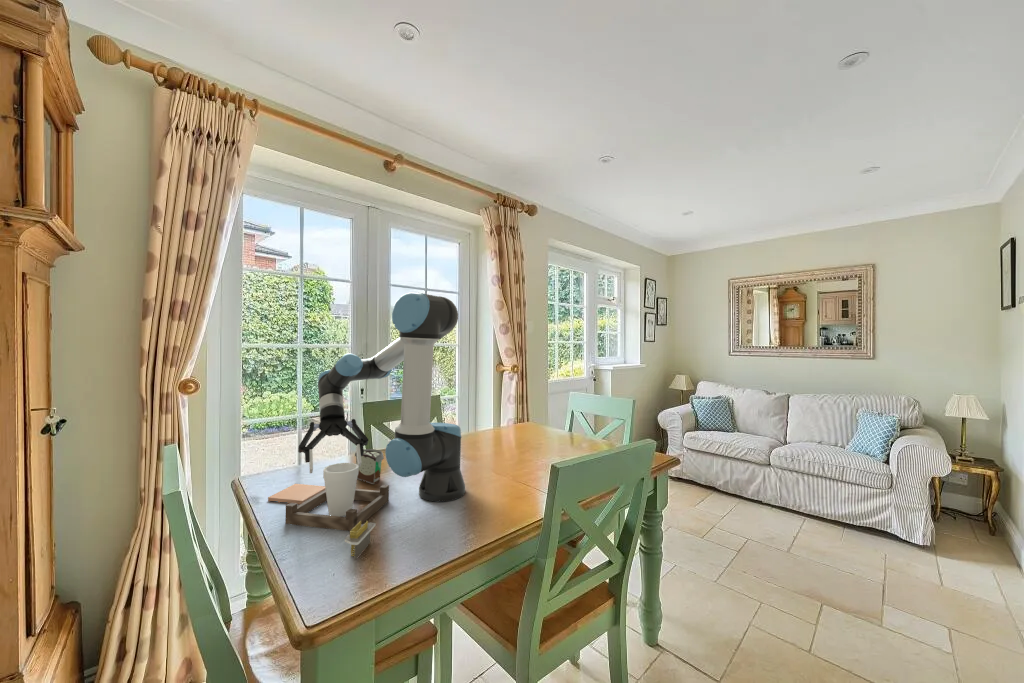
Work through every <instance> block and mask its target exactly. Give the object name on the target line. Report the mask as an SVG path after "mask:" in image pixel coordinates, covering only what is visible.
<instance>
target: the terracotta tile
mask: <svg viewBox="0 0 1024 683" xmlns="http://www.w3.org/2000/svg"><path fill="white" fill-rule="evenodd" d="M324 490H326V489H325V485H315V484H304V483H303V484H302V483H294V484H292V485H290V486H288V487H286V488H284V489H282V490H280V491H278V492H276V493H273V494H272V495H270V496H268V497H267V501H268V502H270V501H278V502H277V503H280V502H288V503H287V504H290V503H297V505H300V504H302V503H304V502H305V501H307V500H309V499H310V498H312V497H314V496H316V495H317V494H319V493H321V492H322V491H324Z"/></svg>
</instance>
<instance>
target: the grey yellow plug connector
mask: <svg viewBox="0 0 1024 683" xmlns="http://www.w3.org/2000/svg"><path fill="white" fill-rule="evenodd" d="M375 527H376V522H370V521H368V520H366V522H364V523H362V524H361V521H360V522H359V523H358V524H357V525H356V526H355V527H354V528H353V529H352V530H351V531H349V534H347V536H346V537H344V542H345V543H347V544H349V545H350V557H354V561H356V560H357V559H358V558H359V557H360V555H361V554H362V553H363V552H364V551H365V550H366V548H368V546H369V545H370V544H371V531H373V529H374V528H375ZM369 543H370V544H369ZM368 544H369V545H368ZM364 549H365V550H364ZM363 550H364V551H363ZM362 551H363V552H362ZM358 556H359V557H358ZM357 557H358V558H357Z"/></svg>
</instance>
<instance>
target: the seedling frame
mask: <svg viewBox="0 0 1024 683" xmlns="http://www.w3.org/2000/svg"><path fill="white" fill-rule="evenodd" d="M389 494H390V485H388V484H382V485H380V487H379V490H375V489H374V490H372V489H363V488H362V489H361V488H356V489H355V495H354V500H355V501H365V502H370V503H368V504H367V505H366V506H365V507H363V508H361V509H360V510H358V509H356V508H352V509H349V510H348V511H346V515H345V516H330V515H329V514H319V513H310V512H311V511H313V510H315V509H317V508H318V507H320V506H321V505H322V503H323V504H324V503H325V501H326V502H327V497H326V490H324V491H322V492H321V493H319V494H317V495H316V496H314V497H312V498H310V499H309V500H307V501H305V502H304V503H302V504H297V503H287V504H286V505H285V522H284V523H285V525H290V524H292V526H293V525H294V526H301V527H308V526H309V527H310V528H318V529H327V530H328V529H329V530H335V529H336V530H337V531H344V532H345V531H346V532H350V531H351V530H352V529H353V528H354V527H355V526H356V525H357V524H358V523H359V522H360V521H361V525H362V524H364V523H365V521H368V519H369V518H371V517H372V516H373V515H374V514H375V513H376V512H378V511H379V510H380V509H381V508H382V507H383V506H385V505H386V504H387V503H388V502H389V500H390V499H389V498H390V495H389ZM317 506H318V507H317ZM314 508H315V509H314ZM312 509H313V510H312ZM309 511H310V512H309Z"/></svg>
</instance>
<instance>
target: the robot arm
mask: <svg viewBox="0 0 1024 683" xmlns="http://www.w3.org/2000/svg"><path fill="white" fill-rule="evenodd" d="M391 321H392V324H393V326H394V328H395V329H396V330H397V331H398V332H399V337H398V338H397V339H395V340H394V341H393V342H391V343H390V344H388V346H386V347H385V348H383V349H382V350H380V351H379V352H377V354H375V355H374V356H372V357H369V358H360V357H359V356H358V355H356V354H353V353H351V352H350V353H349V352H347V353H345V354H343V356H341V358H338V360H337V361H336V363H335V364H334V366H333V367H332V368H331V369H327V370H324V371H322V372H321V373H320V374H319V375H318V378H317V379H318V380H317V388H318V401H319V402H318V404H319V405H318V406H319V423H315V422H314V421H312V422H310V423H309V428H308V430H307V431H306V433H305V435H304V437H303V439H302V440H301V442H300V443H299V445H298V450H297V452H298V453H299V454H300V453H301V454H302V453H303V454H304V462H305V463H306V464H307V463H309V465H308V466H309V467H308V468H309V474H314V473H313V472H314V460H313V459H314V458H313V449H314V448H315V447H316V446H317V445H318V443H319V442H321V441H322V440H323V439H324V438H325V437H326V436H327V437H332V436H336V437H337V436H340V435H341V436H342V437H345V438H346V439H347V440H348V441H350V442H351V443H352V444H354V446H356V448H355V452H356V453H357V462H358V466H359V467H361V463H362V461H361V456H363V454H364V446H368V444H369V438H368V437H367V436H366V435H365V433H364V432H363V431H362V429H361V428H360V427H359V425H358V424H357V421H356V419H355V418H352V419H351V420H348V421H347V420H346V417H345V409H344V408H345V405H344V396H343V395H344V394H343V391H344V390H345V388H347V386H348V385H349V384H350V383H351V382H354V381H365V380H380V379H384V378H387V377H388V376H390V375H391V373H392V370H393V369H394V368H396V366H398V365H399V364H401V363H402V362H403V365H402V366H403V367H402V368H403V370H402V388H401V407H400V408H401V409H400V423H399V424H398V425H397V426H396V427H394V428H395V429H394V438H393V439H391V440H390V441H389V442H388V443H387V445H386V447H385V459H386V463H387V464H388V467H389V468H390V469H391V471H392V473H394V474H395V475H397V476H398V477H401V478H402V477H403V478H407V477H409V478H410V477H411V476H417V475H419V474H420V473H422V472H423V474H422V477H421V480H420V484H419V487H418V496H419V498H421V499H422V498H423V500H425V501H428V500H429V501H428V502H434V501H444V502H451V501H454V500H458V499H460V498H462V497H463V496H465V494H466V483H465V481H464V480H465V479H464V478H463V475H462V471H461V452H462V451H461V448H462V447H461V446H462V444H461V443H462V441H461V440H462V435H461V433H462V432H461V431H462V429H461V427H460V426H459V425H458V424H455V423H449V422H431V408H432V407H431V406H432V403H431V402H432V386H433V384H432V383H433V365H434V345H435V344H437V342H438V341H439V340H441V339H443V338H444V337H445V336H447V335H448V334H449V333H451V332H452V331H453V330H454V329H455V327H456V326H457V324H458V321H459V310H458V308H457V306H456V305H455V304H454V302H453V301H452V300H450V299H449V298H447V297H445V296H441V295H439V296H438V295H433V294H428V293H423V292H422V293H421V292H408V293H404V294H402V295H401V296H400V297H399V299H397V300H396V301H395V303H394V305H393V308H392V312H391ZM347 426H348V427H349V428H350V429H351V430H352V431H353V433H352V432H351V431H350V430H349V429H348V428H347ZM317 429H319V430H320V431H319V432H318V433H317V435H316V436H315V437H314V438H313V439H311V438H312V436H313V434H314V432H315V431H317ZM310 439H311V441H310ZM309 441H310V442H309ZM464 493H465V494H464ZM461 496H462V497H461ZM457 498H458V499H457Z"/></svg>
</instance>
